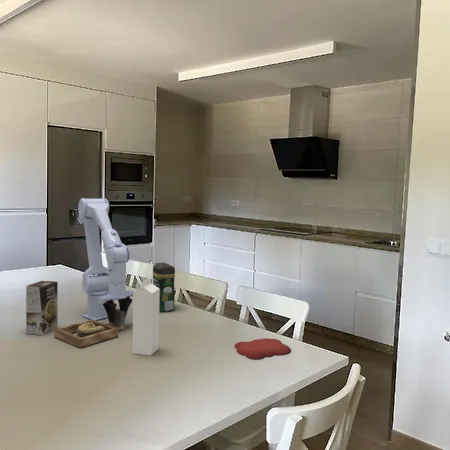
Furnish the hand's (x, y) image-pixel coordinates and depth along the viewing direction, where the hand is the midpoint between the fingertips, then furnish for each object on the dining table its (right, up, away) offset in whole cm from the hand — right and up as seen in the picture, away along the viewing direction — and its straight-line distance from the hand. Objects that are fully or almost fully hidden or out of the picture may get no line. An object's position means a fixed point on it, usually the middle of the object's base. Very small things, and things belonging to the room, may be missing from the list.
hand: (117, 320), depth 161 cm
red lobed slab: (+49, -7, -15) cm, 52 cm away
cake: (-7, -4, -8) cm, 11 cm away
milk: (+13, -6, -20) cm, 24 cm away
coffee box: (-24, -3, -4) cm, 25 cm away
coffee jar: (+12, -1, +26) cm, 28 cm away
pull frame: (-6, -3, -7) cm, 10 cm away
